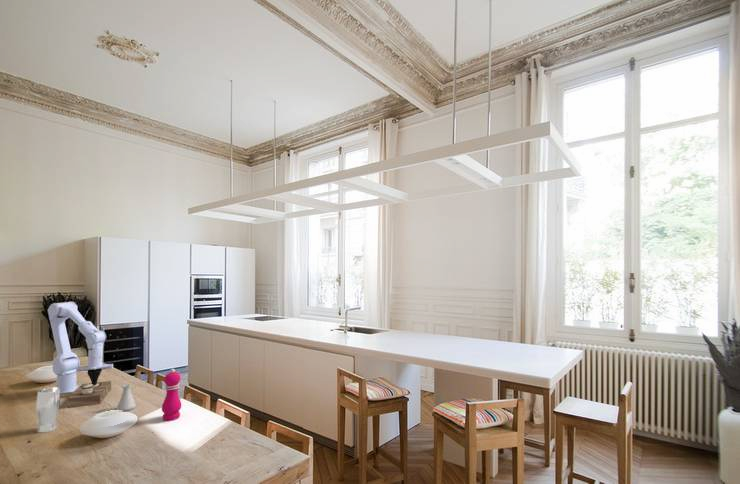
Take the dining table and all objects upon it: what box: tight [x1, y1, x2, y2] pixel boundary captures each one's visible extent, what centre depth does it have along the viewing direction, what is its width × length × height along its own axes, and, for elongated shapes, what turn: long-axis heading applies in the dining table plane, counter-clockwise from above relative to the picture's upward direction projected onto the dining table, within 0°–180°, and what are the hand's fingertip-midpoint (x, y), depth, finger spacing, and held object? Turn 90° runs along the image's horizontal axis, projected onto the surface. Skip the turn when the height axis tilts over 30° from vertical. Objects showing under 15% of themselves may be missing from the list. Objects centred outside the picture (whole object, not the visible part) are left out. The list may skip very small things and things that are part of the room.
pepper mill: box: [161, 368, 182, 422], centre depth 157 cm, size 7×7×20 cm
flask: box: [116, 384, 137, 412], centre depth 167 cm, size 7×7×10 cm
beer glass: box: [35, 386, 61, 434], centre depth 146 cm, size 7×7×15 cm
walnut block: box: [66, 380, 112, 409], centre depth 179 cm, size 22×12×4 cm, turn 23°
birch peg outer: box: [82, 383, 94, 395], centre depth 174 cm, size 4×4×4 cm
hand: (94, 385), depth 185 cm, fingers closed, pressing on birch peg inner
